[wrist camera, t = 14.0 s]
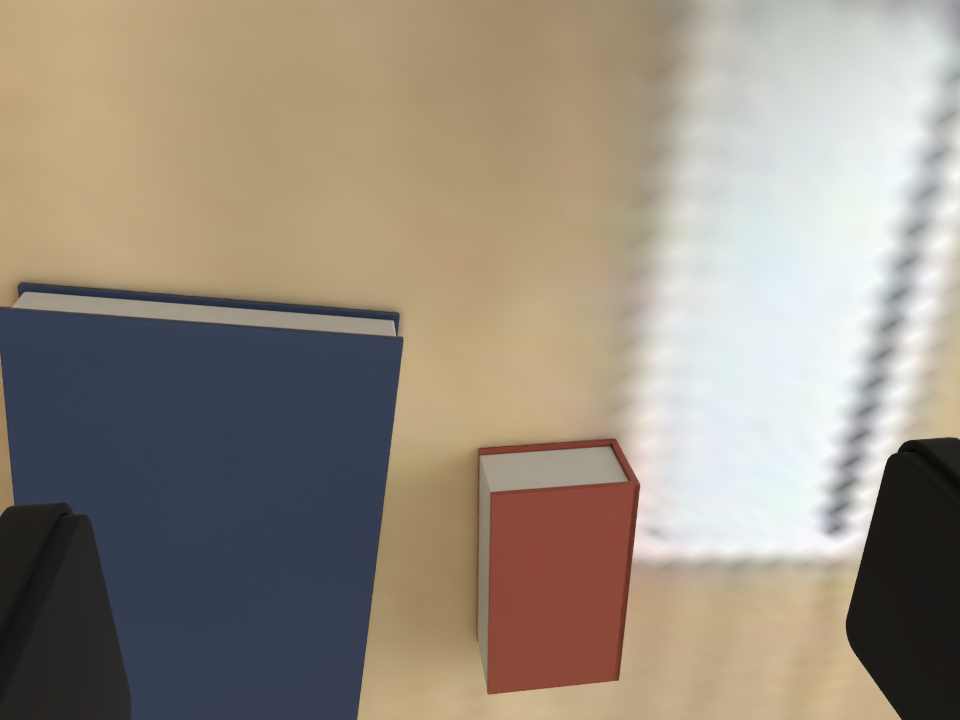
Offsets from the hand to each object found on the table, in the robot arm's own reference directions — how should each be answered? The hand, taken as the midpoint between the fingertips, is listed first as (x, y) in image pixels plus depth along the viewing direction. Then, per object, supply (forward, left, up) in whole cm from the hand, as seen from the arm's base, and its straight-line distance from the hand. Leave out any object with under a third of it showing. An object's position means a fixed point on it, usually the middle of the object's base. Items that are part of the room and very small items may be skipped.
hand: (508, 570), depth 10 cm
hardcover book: (+6, +17, -24) cm, 30 cm away
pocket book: (-9, +18, -24) cm, 32 cm away
